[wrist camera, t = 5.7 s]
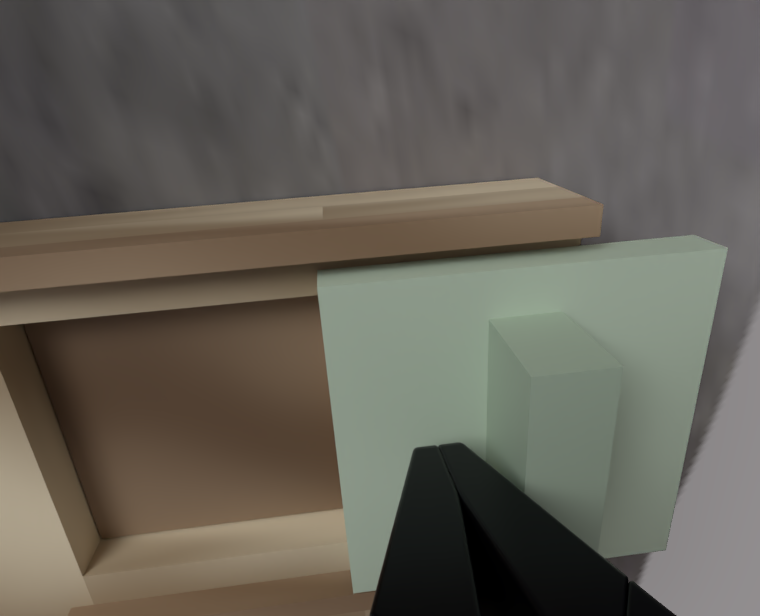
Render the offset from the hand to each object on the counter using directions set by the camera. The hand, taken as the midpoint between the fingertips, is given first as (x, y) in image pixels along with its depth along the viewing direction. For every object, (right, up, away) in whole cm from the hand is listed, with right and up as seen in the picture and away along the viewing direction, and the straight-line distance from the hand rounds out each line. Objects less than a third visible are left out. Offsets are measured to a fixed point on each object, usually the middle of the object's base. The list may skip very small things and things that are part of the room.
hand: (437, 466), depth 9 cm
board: (-4, -4, +5) cm, 7 cm away
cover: (+1, +1, +1) cm, 2 cm away
